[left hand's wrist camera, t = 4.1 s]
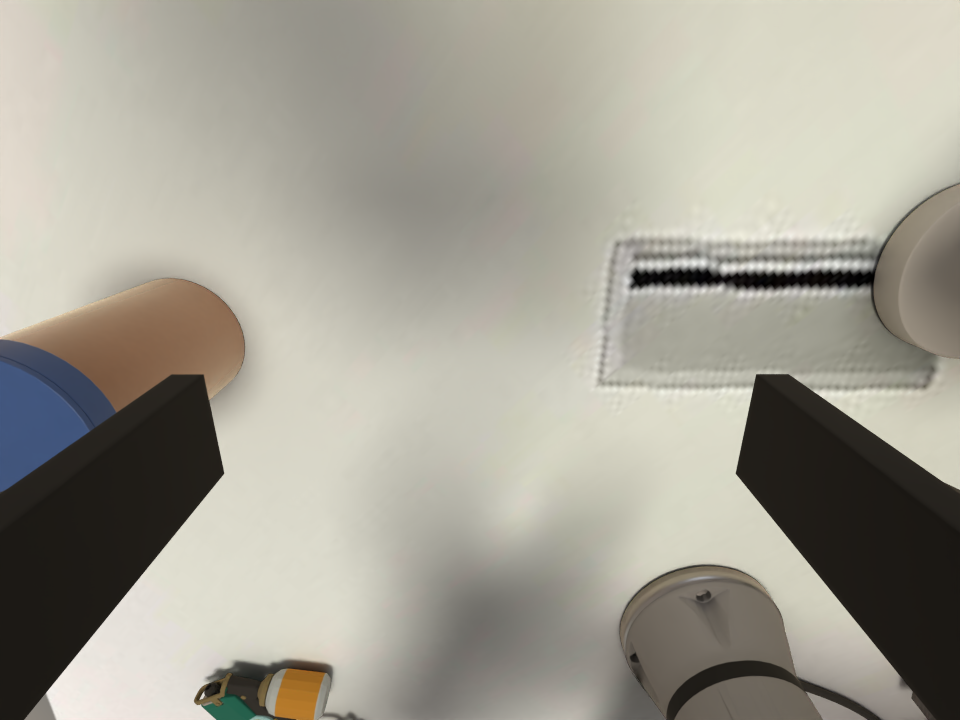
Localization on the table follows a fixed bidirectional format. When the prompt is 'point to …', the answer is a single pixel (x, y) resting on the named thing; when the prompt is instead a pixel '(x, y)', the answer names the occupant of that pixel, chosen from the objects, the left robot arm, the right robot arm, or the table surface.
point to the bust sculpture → (924, 277)
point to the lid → (42, 408)
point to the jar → (145, 339)
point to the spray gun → (267, 696)
